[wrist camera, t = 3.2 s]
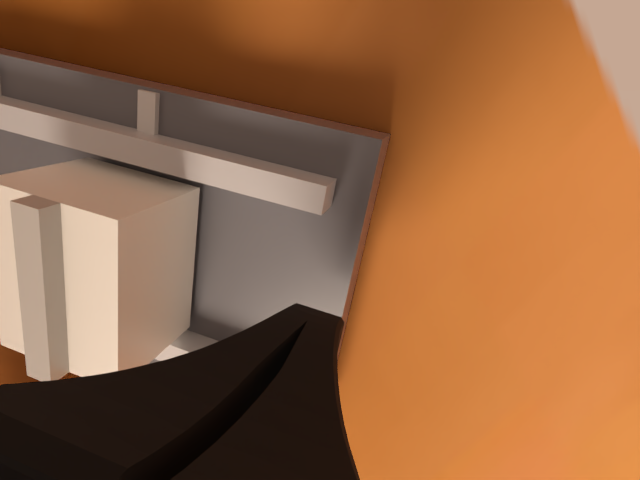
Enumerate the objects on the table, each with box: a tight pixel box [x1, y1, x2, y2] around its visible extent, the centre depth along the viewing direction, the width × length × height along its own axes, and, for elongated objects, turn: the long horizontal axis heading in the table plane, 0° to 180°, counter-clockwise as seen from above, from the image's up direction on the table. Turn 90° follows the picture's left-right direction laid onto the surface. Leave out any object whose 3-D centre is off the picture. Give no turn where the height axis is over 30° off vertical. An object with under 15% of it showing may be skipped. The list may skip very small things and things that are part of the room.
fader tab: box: [0, 157, 200, 381], centre depth 13 cm, size 5×4×4 cm
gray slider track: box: [0, 48, 391, 364], centre depth 16 cm, size 10×26×2 cm, turn 80°
